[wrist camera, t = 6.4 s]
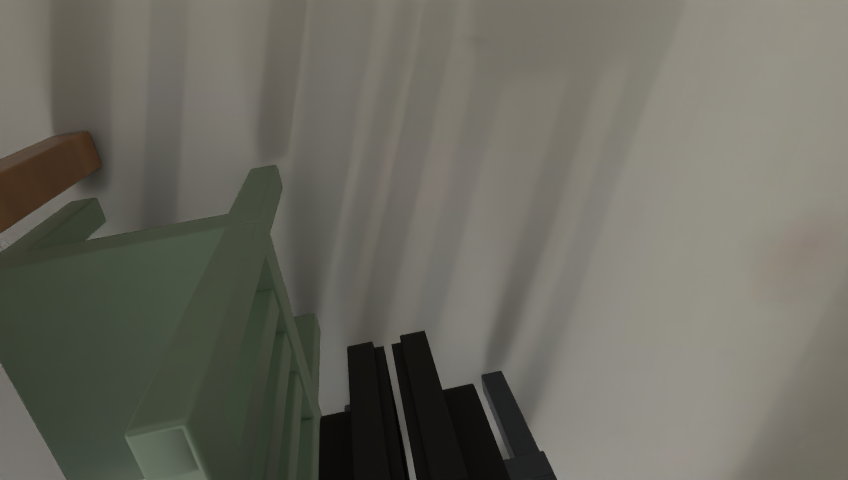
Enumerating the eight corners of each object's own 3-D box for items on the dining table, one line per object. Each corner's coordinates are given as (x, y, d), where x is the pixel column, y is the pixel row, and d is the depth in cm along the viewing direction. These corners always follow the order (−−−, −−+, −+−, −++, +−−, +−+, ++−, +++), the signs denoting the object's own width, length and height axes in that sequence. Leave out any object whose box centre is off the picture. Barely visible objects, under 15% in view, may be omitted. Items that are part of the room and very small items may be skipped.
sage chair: (278, 160, 18) (187, 419, 7) (324, 333, 21) (315, 727, 9) (64, 199, 18) (-452, 560, 6) (140, 371, 20) (-110, 843, 9)
